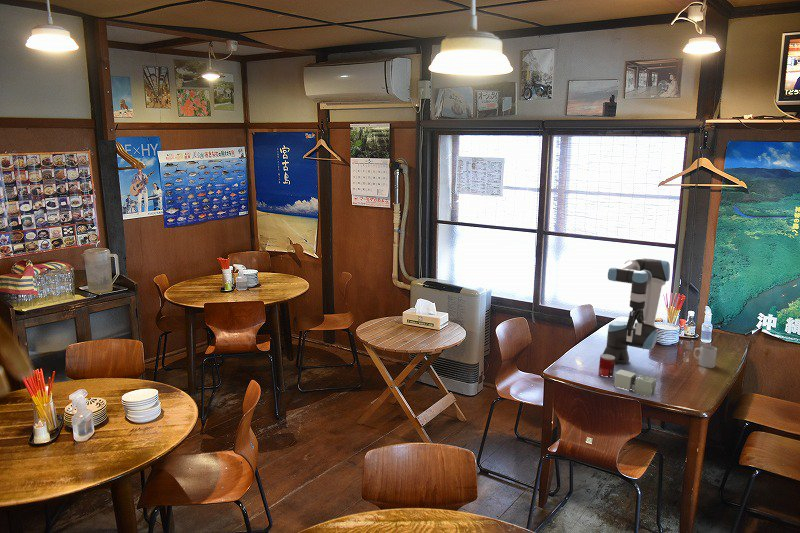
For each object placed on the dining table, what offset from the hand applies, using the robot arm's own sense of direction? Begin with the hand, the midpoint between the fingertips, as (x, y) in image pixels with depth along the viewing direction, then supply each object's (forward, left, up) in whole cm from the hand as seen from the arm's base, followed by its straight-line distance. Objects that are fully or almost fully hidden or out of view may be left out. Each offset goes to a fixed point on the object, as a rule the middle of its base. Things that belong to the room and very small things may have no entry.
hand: (633, 338), depth 334 cm
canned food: (-12, -3, -24) cm, 27 cm away
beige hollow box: (+2, -13, -24) cm, 27 cm away
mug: (+24, +54, -24) cm, 64 cm away
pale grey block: (+7, -13, -24) cm, 28 cm away
